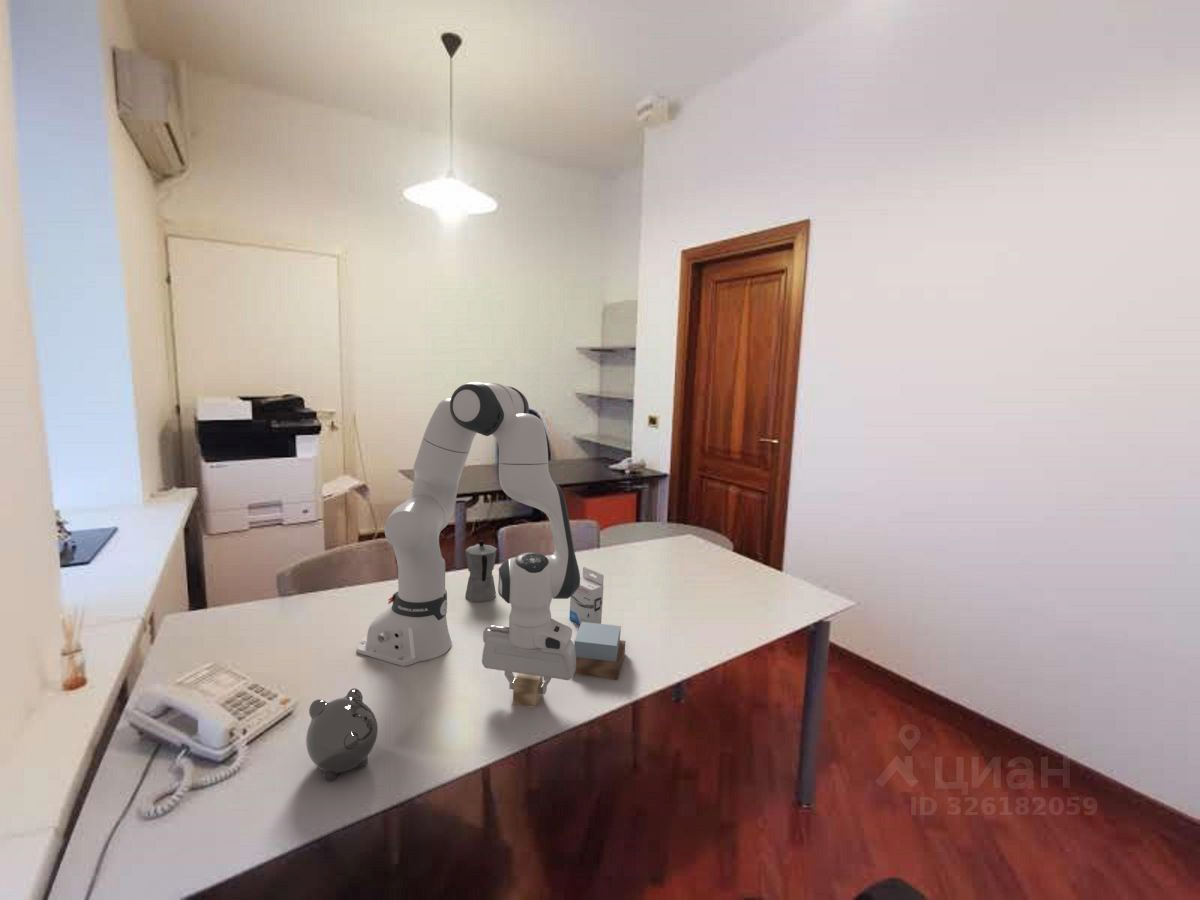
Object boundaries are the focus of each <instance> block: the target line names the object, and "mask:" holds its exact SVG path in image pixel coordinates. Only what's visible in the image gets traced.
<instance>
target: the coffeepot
mask: <svg viewBox="0 0 1200 900" xmlns="http://www.w3.org/2000/svg"><path fill="white" fill-rule="evenodd" d="M497 551H498V548H497V547H495V546H493V545H491V544H485V540H484V539H480V540H478V543H476V544H475V545H471V546H468V547H467V548H466V549H465V557H466V563H467V564H466V565H467V569H468V572H469V577H468V580H467V586H466V591H465V596H464V597H465V598H466V599H467V600H468V601H470V602H474V603H484V602H489V601H492V600H494V598H495V597H496V594H497V593H496V585H495V581H494V575H493V570H494V569H495V568H494V567H495V561H496V557H497Z"/></svg>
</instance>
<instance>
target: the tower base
mask: <svg viewBox="0 0 1200 900" xmlns="http://www.w3.org/2000/svg"><path fill="white" fill-rule="evenodd" d="M625 652H626V640H621V639H620V643H619V648H618V653H617V658H616V662H613V661H605V660H597V659H588V658H580V657H576V671H575V674H574V675H578V676H585V677H586V676H587V677H594V678H599V679H606V680H613V681H618V680H619V677H620V674H621V669H622V667H623V666H622V665H623V662H624V657H625V654H626V653H625Z"/></svg>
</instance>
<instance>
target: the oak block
mask: <svg viewBox="0 0 1200 900" xmlns="http://www.w3.org/2000/svg"><path fill="white" fill-rule="evenodd" d="M515 678H516V679H515V680H514V682H513V690H512V704H513V705H518V706H524V707H530V708H531V707H532V708H536V707H537V705H538V703H539V701H540V699H541V697H542V695H543V694H539V693H538V691H539V690H538V686H539V685H540V682H543V681H544V677H543V676H536V675H529V674H522V673H517V675H516V677H515ZM543 683H544V682H543Z"/></svg>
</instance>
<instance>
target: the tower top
mask: <svg viewBox="0 0 1200 900" xmlns="http://www.w3.org/2000/svg"><path fill="white" fill-rule="evenodd" d="M579 625H580V624H579ZM621 627H622V626H621V625H616V624H608V623H607V624H605V623H601V624H598V623H589V622H581V625H580V626H579V627H578V631H577V633H576V636H575V638H574V642H573V643H574V646H575V652H576V657H580V658H588V659H597V660H605V661H613V662H616V658H617V653H618V648H619V643H620V640H621V630H622V629H621Z"/></svg>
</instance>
